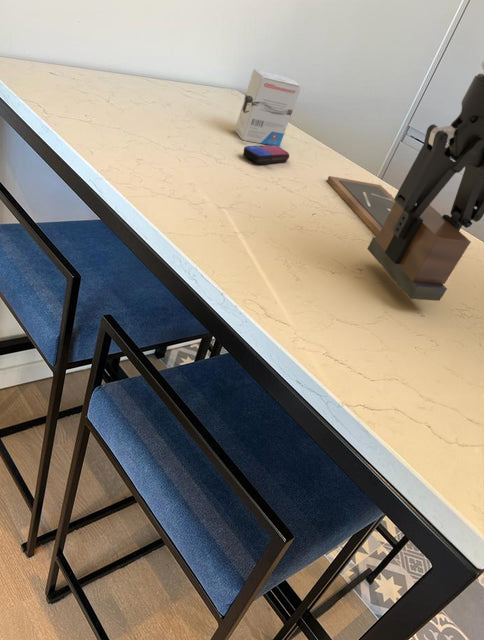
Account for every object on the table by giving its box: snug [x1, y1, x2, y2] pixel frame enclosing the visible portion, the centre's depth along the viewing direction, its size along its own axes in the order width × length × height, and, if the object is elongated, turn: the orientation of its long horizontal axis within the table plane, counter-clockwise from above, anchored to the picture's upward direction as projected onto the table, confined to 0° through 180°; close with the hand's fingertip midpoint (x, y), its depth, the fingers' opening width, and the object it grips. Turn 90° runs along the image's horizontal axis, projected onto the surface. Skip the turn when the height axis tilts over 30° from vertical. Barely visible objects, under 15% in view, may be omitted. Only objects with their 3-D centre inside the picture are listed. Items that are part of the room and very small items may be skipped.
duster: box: [366, 202, 472, 302], centre depth 76 cm, size 12×5×8 cm, turn 17°
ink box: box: [234, 68, 302, 147], centre depth 109 cm, size 8×5×12 cm, turn 108°
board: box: [326, 175, 395, 237], centre depth 101 cm, size 22×12×1 cm, turn 17°
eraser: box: [242, 144, 290, 165], centre depth 104 cm, size 11×4×2 cm, turn 136°
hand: (409, 259), depth 78 cm, fingers closed on duster, 5 cm apart
